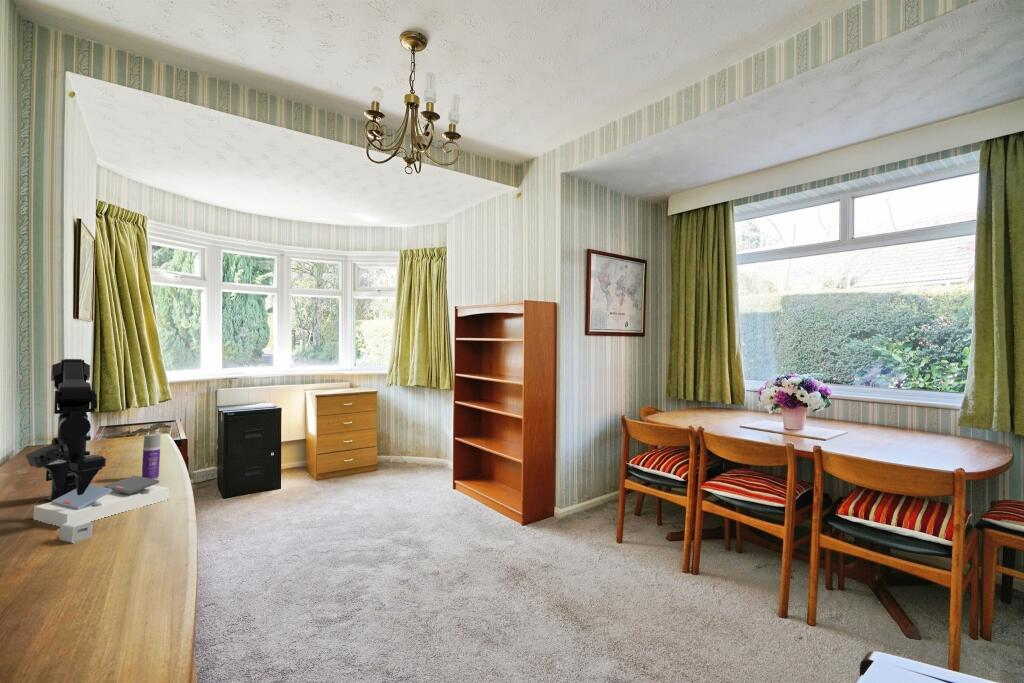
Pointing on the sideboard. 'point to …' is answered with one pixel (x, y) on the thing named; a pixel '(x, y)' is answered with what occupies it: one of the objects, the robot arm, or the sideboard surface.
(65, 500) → the plate
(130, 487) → the rocker charcoal
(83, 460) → the robot arm
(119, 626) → the sideboard surface
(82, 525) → the usb wall charger
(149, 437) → the container
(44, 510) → the white long base
